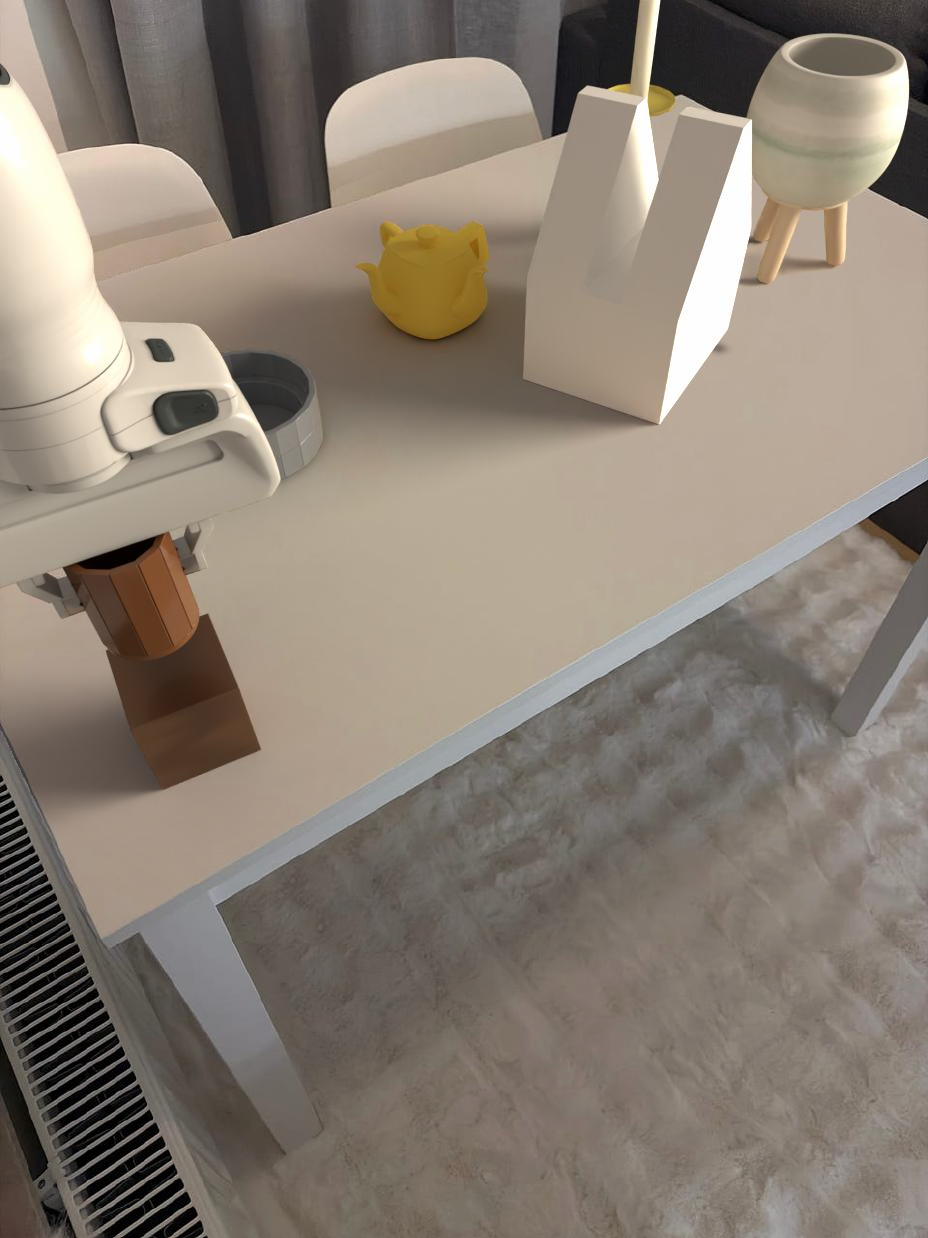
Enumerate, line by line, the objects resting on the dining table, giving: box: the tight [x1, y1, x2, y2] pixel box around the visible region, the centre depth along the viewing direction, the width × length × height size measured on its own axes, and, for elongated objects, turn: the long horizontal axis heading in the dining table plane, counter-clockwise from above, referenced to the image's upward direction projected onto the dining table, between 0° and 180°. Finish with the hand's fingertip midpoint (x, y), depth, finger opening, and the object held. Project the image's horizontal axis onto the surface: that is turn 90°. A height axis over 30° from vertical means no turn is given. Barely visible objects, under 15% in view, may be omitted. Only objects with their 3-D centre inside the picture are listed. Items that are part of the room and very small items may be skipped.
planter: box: [745, 33, 910, 284], centre depth 101 cm, size 16×16×22 cm
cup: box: [61, 531, 200, 661], centre depth 56 cm, size 6×6×8 cm
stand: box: [105, 613, 262, 790], centre depth 66 cm, size 7×7×8 cm
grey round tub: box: [219, 348, 324, 481], centre depth 88 cm, size 14×14×6 cm
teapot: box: [354, 220, 491, 340], centre depth 100 cm, size 14×13×10 cm
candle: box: [607, 0, 676, 118], centre depth 103 cm, size 10×10×32 cm
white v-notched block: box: [522, 85, 752, 425], centre depth 89 cm, size 19×15×25 cm
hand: (135, 586), depth 56 cm, fingers closed on cup, 6 cm apart
